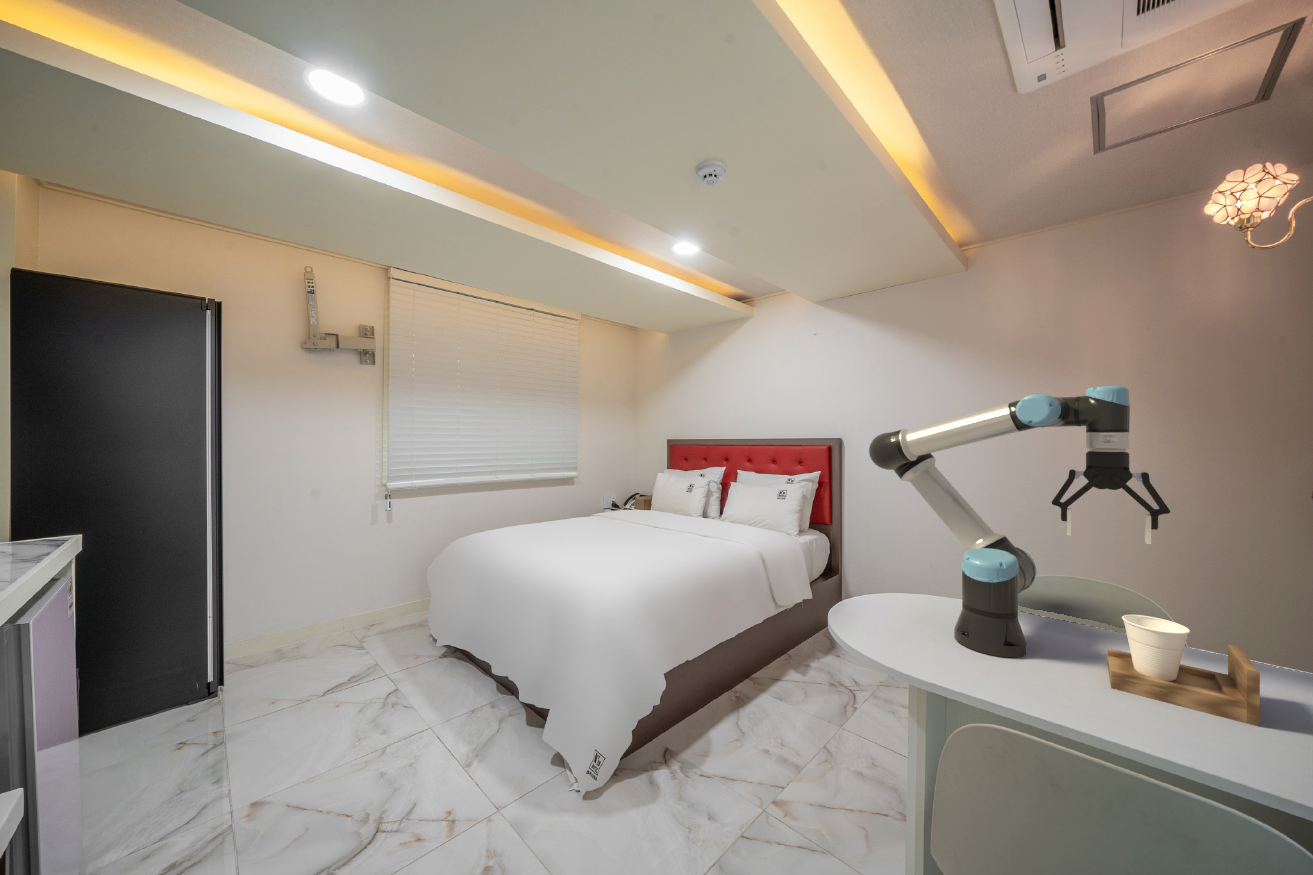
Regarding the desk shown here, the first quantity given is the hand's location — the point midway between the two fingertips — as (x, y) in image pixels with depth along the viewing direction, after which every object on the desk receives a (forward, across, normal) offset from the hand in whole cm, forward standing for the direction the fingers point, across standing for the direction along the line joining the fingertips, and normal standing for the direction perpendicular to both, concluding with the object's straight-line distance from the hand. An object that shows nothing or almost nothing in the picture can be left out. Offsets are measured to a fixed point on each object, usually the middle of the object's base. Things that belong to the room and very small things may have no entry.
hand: (1106, 538), depth 111 cm
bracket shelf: (+29, +9, -11) cm, 32 cm away
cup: (+26, +7, -11) cm, 29 cm away
